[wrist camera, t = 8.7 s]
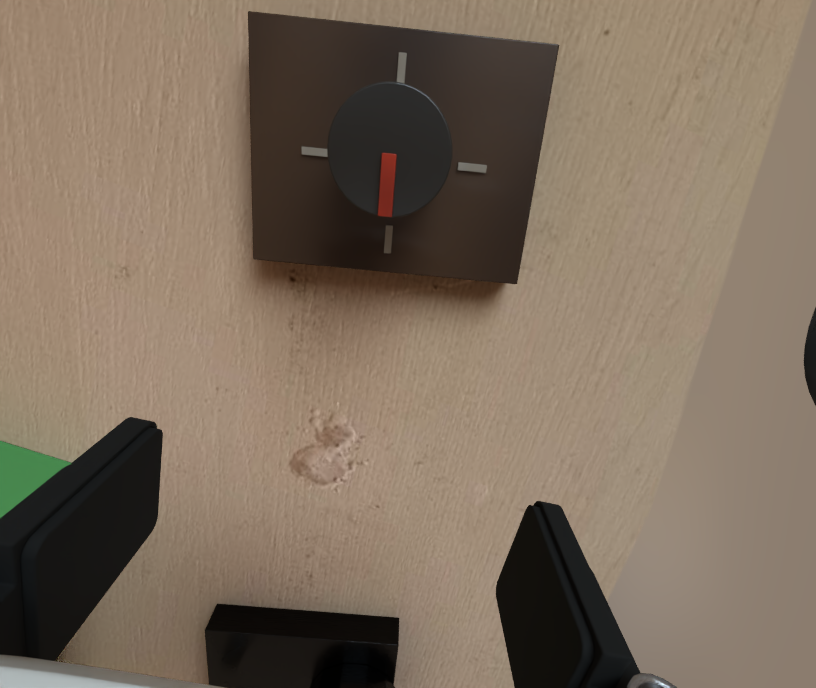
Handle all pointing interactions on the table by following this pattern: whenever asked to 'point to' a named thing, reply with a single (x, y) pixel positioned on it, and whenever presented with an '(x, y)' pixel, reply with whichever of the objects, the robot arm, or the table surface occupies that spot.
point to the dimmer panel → (467, 120)
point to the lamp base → (299, 649)
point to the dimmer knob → (389, 149)
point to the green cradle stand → (23, 473)
